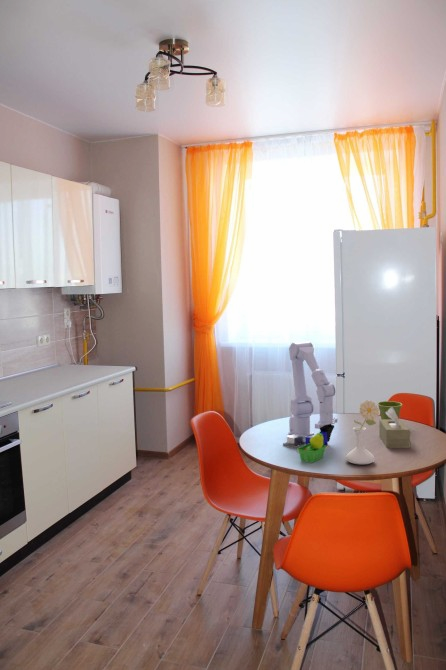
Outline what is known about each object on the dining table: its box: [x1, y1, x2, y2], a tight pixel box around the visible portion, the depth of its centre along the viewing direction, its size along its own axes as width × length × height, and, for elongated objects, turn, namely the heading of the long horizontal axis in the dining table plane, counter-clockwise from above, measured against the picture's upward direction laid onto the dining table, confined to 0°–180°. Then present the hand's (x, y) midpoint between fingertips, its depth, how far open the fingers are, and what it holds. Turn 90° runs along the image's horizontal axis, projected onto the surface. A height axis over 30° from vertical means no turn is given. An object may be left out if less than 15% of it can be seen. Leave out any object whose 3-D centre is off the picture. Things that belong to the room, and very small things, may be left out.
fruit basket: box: [297, 432, 327, 464], centre depth 222 cm, size 11×9×11 cm
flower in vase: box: [344, 400, 380, 465], centre depth 216 cm, size 13×11×25 cm
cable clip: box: [304, 431, 329, 446], centre depth 237 cm, size 12×4×6 cm, turn 135°
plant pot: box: [376, 400, 403, 420], centre depth 270 cm, size 12×12×11 cm
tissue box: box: [378, 407, 411, 449], centre depth 243 cm, size 19×10×16 cm, turn 174°
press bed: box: [282, 440, 331, 453], centre depth 240 cm, size 17×15×1 cm
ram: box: [286, 434, 304, 447], centre depth 243 cm, size 5×6×4 cm
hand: (326, 441), depth 243 cm, fingers closed
